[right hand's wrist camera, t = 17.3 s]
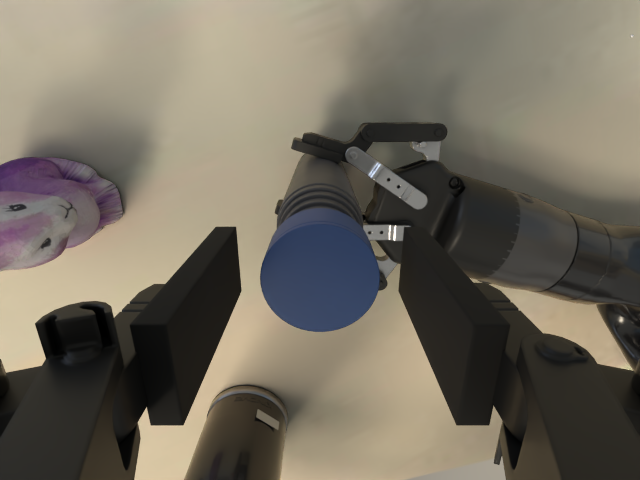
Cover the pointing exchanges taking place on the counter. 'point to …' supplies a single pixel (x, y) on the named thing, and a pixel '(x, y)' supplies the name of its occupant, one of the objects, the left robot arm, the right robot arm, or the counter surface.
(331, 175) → the bottle
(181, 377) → the right robot arm
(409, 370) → the counter surface
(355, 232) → the cap
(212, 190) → the counter surface
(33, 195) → the figurine
